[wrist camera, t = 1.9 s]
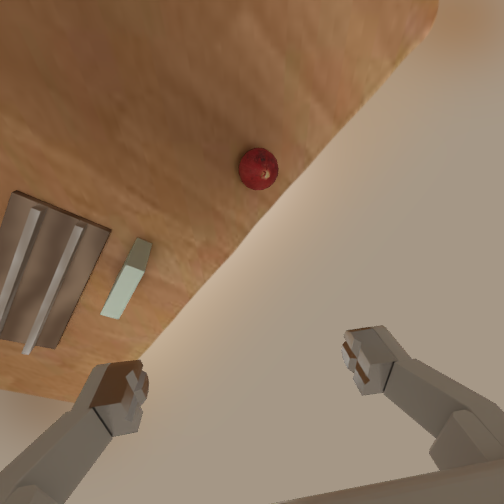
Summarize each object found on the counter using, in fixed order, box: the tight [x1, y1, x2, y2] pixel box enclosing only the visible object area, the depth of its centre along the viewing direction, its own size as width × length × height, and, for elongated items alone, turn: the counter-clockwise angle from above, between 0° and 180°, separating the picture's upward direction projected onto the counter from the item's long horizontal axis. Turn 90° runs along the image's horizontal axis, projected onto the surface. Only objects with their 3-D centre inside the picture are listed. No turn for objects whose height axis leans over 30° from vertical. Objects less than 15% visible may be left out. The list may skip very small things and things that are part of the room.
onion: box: [239, 148, 278, 190], centre depth 35 cm, size 6×6×8 cm
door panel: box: [100, 238, 152, 319], centre depth 37 cm, size 2×9×9 cm, turn 146°
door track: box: [0, 190, 111, 355], centre depth 37 cm, size 12×26×3 cm, turn 147°
